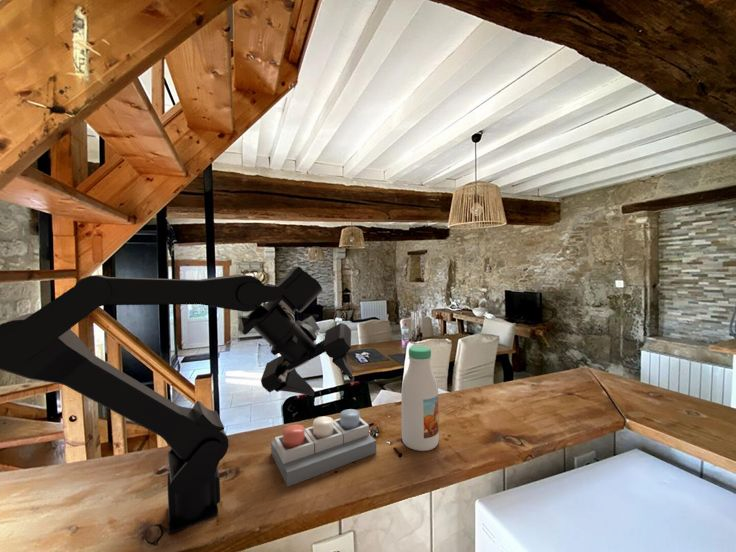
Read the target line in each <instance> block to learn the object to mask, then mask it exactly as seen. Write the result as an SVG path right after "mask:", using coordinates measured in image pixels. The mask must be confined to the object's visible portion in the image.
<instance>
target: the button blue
mask: <svg viewBox="0 0 736 552" xmlns="http://www.w3.org/2000/svg"><path fill="white" fill-rule="evenodd" d="M339 418H340V426H341V427H342V428H343V429H344V430H350V429H353V428H357V427H359V426H360V418H361V417H360V411H359V410H358V409H353V408H349V409H344V410H342V411H340V415H339Z"/></svg>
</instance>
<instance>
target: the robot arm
mask: <svg viewBox="0 0 736 552" xmlns="http://www.w3.org/2000/svg"><path fill="white" fill-rule="evenodd" d="M322 287H323V286H322V285H321V283H320V282H319V281H318V280H317V279H316V278H314V276H311V275H310V274H309V273H308V272H307V271H304V269H302V267H301V266H293V267H292V268H291V269H290V270H289V271H288V273H287V274H286V275H285V276H284V277H282V279H281V280H279V281H278V283H276V284H270V283H266V284H264V283H263V282H262V281H261V280H260V278H258V277H256V276H252V275H247V274H241V273H240V274H232V275H222V276H217V277H216V276H215V277H210V278H203V279H201V278H200V279H186V278H185V279H184V278H183V279H182V278H181V279H180V278H177V279H175V278H154V277H153V278H152V277H151V278H148V277H147V278H146V277H120V276H119V277H117V276H116V277H113V276H105V275H103V274H101V275H100V274H97V275H96V274H95V275H89V276H86V277H83V278H81V279H79V280H78V281H77V282H75V285H74V286H72V287H70V289H68V290H66V291H64V293H62V294H61V295H59V296H57V297H56V298H54V299H53V300H51V301H49V302H48V303H47V304H45V305H44V306H42V307H41V308H39V309H38V310H36V311H35V312H33V313H32V312H31V313H25V314H23V315H20V316H17V317H14V318H12V319H10V320H7V321H5V322H3V323H1V324H0V371H3V372H7V373H10V374H13V375H16V376H19V377H22V378H25V379H29V380H33V381H40V382H47V383H52V384H60V385H63V386H64V387H65V386H66V388H68V389H70V390H73V391H74V392H76V393H79V394H81V395H82V396H84V397H86V398H88V399H90V400H92V401H94V402H96V403H97V404H99V405H101V406H103V407H105V408H106V409H108V410H110V411H112V412H114V413H116V414H117V415H119V416H122V417H123V418H125V419H127V420H129V421H131V422H133V423H135V424H137V425H138V426H140V427H142V428H144V429H146V430H148V431H150V432H152V433H153V434H155V435H156V436H159V437H160V438H162V439H163V441H165V443H166V444H167V445H168V446H169V448H170V449H169V450H168V452H167V461H168V462H167V463H168V470H169V471H168V473H167V505H168V506H167V508H168V509H167V511H168V512H167V513H168V514H167V515H168V516H167V533H168V535H170V534H174V533H177V532H179V531H182V530H184V529H187V528H189V527H192V526H195V525H197V524H200V523H202V522H205V521H208V520H210V519H213V518H215V517H217V516H218V515H219V507H218V504H220V502H221V483H220V482H221V481H220V474H219V469H218V466H219V463H220V461H222V460H223V458H224V457H225V455H226V454H227V452H228V448H229V445H230V444H229V437H228V435H227V433H226V432H225V426H224V424H223V421H222V420H221V417H220V416H219V414H218V411H217V410H212V409H210V408H207V407H206V406H205V405H204V404H203V403H202V402H201V401H199V400H196V402H195V403H194V405H193V406H192V407H186V406H181V405H179V404H176V403H175V402H173V401H172V400H170V399H168V398H167V397H165V396H163V395H162V394H160V393H158V392H157V391H155V390H153V389H152V388H150V387H148V386H146V385H145V384H143V383H141V382H139V380H137V379H135V378H134V377H132V376H130V375H128V374H127V373H125V372H123V371H122V370H120V369H118V368H116V367H115V366H113V365H112V364H110V363H108V362H107V361H105V360H103V359H102V358H100V357H98V355H97V356H96V355H95V354H94V353H93V352H92V351H91V350H90V349H89V348H88V347H87V346H86V344H85V343H84V342H83V340H82V339H81V338H80V337H79V335H77V334H76V333H75V332H74V331H73V330H72V328H74V326H76V325H77V324H79V322H81V321H82V320H83V319H85V318H86V317H88V316H89V315H90V314H91V313H93V312H94V311H96V310H97V309H98V308H99V307H103V306H164V305H165V306H167V305H168V306H172V305H173V306H174V305H175V306H177V305H182V306H183V305H201V306H209V307H214V308H220V309H224V310H231V311H237V312H238V311H239V312H246V313H249V314H247V315H239V316H238V327H237V330H238V332H240V334H241V333H242V334H243V335H244V336H245V335H248V334H249V333H250V332H251V331H252V330H253V329H254V330H255V331H256V333H258V334H259V336H261V337H262V338H263V339H264V341H266V342H267V343H268V344H269V345H270V346H271V350H270V353H271V354H272V355H273V356H274V357H275V356H276V355H278V354H279V355H280V356H277V357H276V358H274V359H272V360H270V361H269V362H266V365H265V367H264V371H263V373H262V377H261V379H260V383H261V387H262V388H264V389H265V390H266V391H267V392H268V393H271V392H273V391H275V392H276V393H278V392H287V393H288V392H289V393H294V394H295V393H296V394H302V395H306V396H310V397H311V396H312V397H313V396H314V395H315V390H314V389H313V388H312V386H311V385H310V384H309V382H307V381H306V380H305V379H304V378H303V376H301V375H300V374H299V373H298V371H297V369H298V367H299V368H300V367H301V366H303V365H305V364H307V363H308V362H309V361H311V360H313V359H314V358H317V357H318V356H320V355H322V354H326V355H327V356H328V357H329V358H332V363H333V364H334V365H336V367H337V368H338V369H340V370H341V371H342V372H343V373H345V375H347V376H348V377H350V378H351V377H353V376H354V375H353V370H352V366H351V365H350V361H349V359H348V358H349V357H348V352H349V351H350V350H351V347H352V346H351V345H352V329H351V328H350V327H349V325H348V324H345V323H343V322H340V323H337V324H336V325H335V326H332V327H331V328H329V329H327V330H325V335H324V339H322V340H321V341H319V342H318V343H315V341H316V340H317V337H318V335H317V334H316V333H317V332H318V331H320V330H321V327H319V325H318V323H317V321H316V320H315V318H314V317H313V316H312V315H311V316H309V317H307V318H306V319H303V320H302V321H301V320H299V319H297V320H294V319H293V318H292V317H291V316H290V315H289V314H288V312H289V313H291V314H293V313H295V312H298V313H302V312H303V311H304V310H306V308H307V307H308V306H309V305H310V304H311V303H312V302H313V301H314V300H315V299H316V298H317V297H318V296H319V295H320V294H321V293H322V292H323V288H322ZM263 303H264V304H263ZM279 303H280V304H279ZM262 304H263V305H262ZM284 308H285V309H286V310H287V311H288V312H287V311H285V309H284Z"/></svg>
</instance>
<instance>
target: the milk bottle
mask: <svg viewBox="0 0 736 552" xmlns="http://www.w3.org/2000/svg"><path fill="white" fill-rule="evenodd" d="M431 357H432V350H431V348H430V347H428V346H423V345H414V346H411V347H409V348H408V359H409V363H408V364H409V365H408V367H407V371H406V373H405V374H404V377H403V380H402V384H401V385H402V386H401V440H402V442H403V444H404V445H405V446H406V447H407V448H409V449H411V450H413V451H420V452H426V451H431V450H434V448H436V447H437V446H438V444H439V439H440V438H439V434H440V433H439V432H440V431H439V428H440V427H439V423H440V422H439V421H440V419H439V418H440V416H439V415H440V414H439V410H440V409H439V401H440V400H439V388H438V383H437V379H436V376H435V374H434V373H433V370H432V366H431V360H432V358H431Z"/></svg>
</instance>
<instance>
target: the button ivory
mask: <svg viewBox="0 0 736 552" xmlns="http://www.w3.org/2000/svg"><path fill="white" fill-rule="evenodd" d="M333 420H334V419H333V418H332V417H330V416H324V415H323V416H317V417H316V418H315V419H314V420H313V422H312V426H313V436H314V437H315V438H317V439H322V438H325V437H328V436H332V435H333Z"/></svg>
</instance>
